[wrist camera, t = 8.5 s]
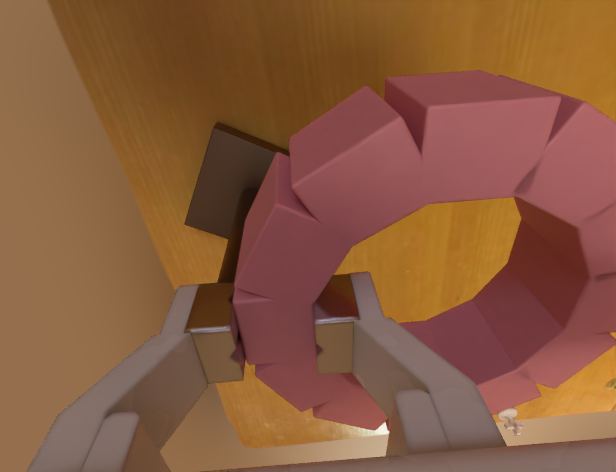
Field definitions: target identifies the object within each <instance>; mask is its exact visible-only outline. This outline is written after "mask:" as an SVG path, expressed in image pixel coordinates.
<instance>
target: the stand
mask: <svg viewBox="0 0 616 472" xmlns="http://www.w3.org/2000/svg"><path fill="white" fill-rule="evenodd" d="M277 152H280V153H282V154H284V155H286V156H289V157H290V152H289V151H286V150H284V149H282V148H279V147H277V146H274V145H272V144H269V143H267V142H265V141H262V140H260V139H257V138H255V137H253V136H250V135H248V134H245V133H243V132H240V131H238V130H236V129H233V128H231V127H228V126H226V125H224V124H221V123H219V122H217V123H216V124H215V126H214V128H213V131H212V134H211V137H210V141H209V144H208V147H207V151H206V154H205V157H204V161H203V164H202V167H201V171H200V174H199V177H198V180H197V184H196V187H195V190H194V194H193V197H192V200H191V204H190V207H189V210H188V214H187V217H186V220H185V225H187V226H190V227H193V228H196V229H199V230H202V231H206V232H209V233H212V234H215V235H218V236H221V237H224V238H227V239H229V240H228V244H227V248H226V251H225V255H224V259H223V263H222V267H221V270H220V274H219V278H218V282H217V283H229V282H235V276H236V270H237V265H238V259H239V253H240V247H241V242H242V236H243V230H244V225H245V219H246V217H247V215H248V213H249V211H250V209H251V206H252V204H253V202H254V200H255V198H256V196H257V193H258V191H259V189H260V187H261V185H262V183H263V180H264V178H265V176H266V174H267V172H268V170H269V167H270V165H271V163H272V161H273V159H274V157H275V154H276V153H277Z"/></svg>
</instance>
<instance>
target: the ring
mask: <svg viewBox="0 0 616 472" xmlns="http://www.w3.org/2000/svg"><path fill="white" fill-rule="evenodd" d="M289 149H290V157H289V156H286V155H284V154H282V153H280V152H277V153H276V154H275V157H274V159H273V161H272V163H271V165H270V167H269V170H268V172H267V174H266V176H265V178H264V180H263V183H262V185H261V187H260V189H259V191H258V193H257V196H256V198H255V200H254V202H253V204H252V206H251V209H250V211H249V213H248V215H247V217H246V219H245V225H244V230H243V236H242V242H241V247H240V253H239V259H238V265H237V270H236V276H235V282H234V287H235V290H234V296H233V301H232V303H233V307H234V310H235V314H236V319H237V323H238V327H239V332H240V336H241V340H242V344H243V348H244V352H245V356H246V361H247V363H248V364H249V365H255V364H256V366H255V375H256V377H257V378H259V379H260V380H261V381H262V382H264V383H265V384H266V385H268V386H269V387H270V388H271V389H273V390H274V391H275V392H276V393H278V394H279V395H280V396H282V397H283V398H284V399H285V400H287V401H288V402H289V403H290V404H292V405H293V406H294V407H296V408H297V409H298V410H299V411H301V412H304V411H306V410H308V409H310V408H313V416H314V417H315V418H320V419H324V420H329V421H333V422H338V423H342V424H347V425H351V426H356V427H360V428H365V429H369V430H376V429H377V428H378V427H380V426H381V425H382V424H383V423H384V422H385V421H386V425H387V429H388V431H390V425H391V421H390V419H389V418H388V417H387V416H386V415H385V413H384V412H383V411H382V410H381V408H380V407H379V406H378V405H377V404H376V402H375V401H374V400H373V399H372V398H371V396H370V395H369V394H368V393H367V391H366V390H365V389H364V388H363V387H362V385H361V384H360V383H359V382H358V380H357V379H356V378H355V377H354V376H353V373H338V374H319V375H318V369H317V358H316V346H315V328H314V313H313V302H315V301H316V300H317V298H318V297H319V295H320V294H321V292H322V291H323V289H324V288H325V286H326V285H327V283H328V282H329V280H330V279H331V277H332V276H333V274H334V273H335V272H336V270H337V269H338V267H339V266H340V264H341V263H342V261H343V260H344V258H345V257H346V255H347V254H348V252H349V251H350V249H351V248H352V246H354V245H356V244H358V243H359V242H361V241H363V240H365V239H367V238H368V237H370V236H372V235H374V234H376V233H377V232H379V231H381V230H383V229H385V228H386V227H388V226H390V225H392V224H394V223H395V222H397V221H399V220H401V219H403V218H404V217H406V216H408V215H410V214H412V213H413V212H415V211H417V210H419V209H420V208H422V207H424V206H426V205H428V204H434V203H446V202H458V201H470V200H483V199H495V198H507V197H514V199H515V202H516V205H517V207H518V210H519V213H520V216H521V218H522V219H521V222H520V225H519V228H518V231H517V234H516V238H515V241H514V244H513V247H512V250H511V253H510V257H509V260H508V263H507V264H506V265H505V266H504V267H503V268H502V269H501V270H500V271H499V272H498V273H497V274H496V275H495V276H494V277H493V278H492V280H491V281H490V282H489V283H488V284H487V285H486V286H485V287H484V288H483V289H482V290H481V291H480V292H479V293H478V294H477V295H476V296H475V297H474V298H473V299H471V300H469V301H467V302H465V303H463V304H460V305H458V306H456V307H454V308H452V309H450V310H448V311H445V312H443V313H441V314H439V315H437V316H435V317H432V318H430V319H428V320H426V321H417V322H405V323H398V324H400V325H401V326H402V327H404V328H405V329H406V330H408V331H409V332H410V333H411V334H413V335H414V336H415V337H417V338H418V339H419V340H420V341H422V342H423V343H424V344H426V345H427V346H428V347H430V348H431V349H432V350H433V351H435V352H436V353H437V354H439V355H440V356H441V357H442V358H444V359H445V360H446V361H448V362H449V363H450V364H452V365H453V366H454V367H455V368H457V369H458V370H459V371H461V372H462V373H463V374H465V375H466V376H467V377H468V378H470V379H471V380H472V381H474V382H475V383H476V385H477V387H478V389H479V391H480V393H481V395H482V397H483V399H484V401H485V403H486V405H487V407H488V409H489V411H490V413H491V415H493V414H496V413H498V412H501V411H504V410H506V409H509V408H512V407H515V406H517V405H520V404H523V403H525V402H528V401H531V400H533V399H536V398H539V397H541V394H540V392H539V390H538V388H537V386H536V384H535V383H538V384H541V385H544V386H547V387H551V388H557V387H558V386H560V385H561V384H562V383H564V382H565V381H566V380H568V379H569V378H571V377H572V376H573V375H575V374H576V373H577V372H579V371H580V370H582V369H583V368H584V367H586V366H587V365H588V364H590V363H591V362H593V361H594V360H595V359H597V358H598V357H599V356H601V355H602V354H604V353H605V352H606V351H608V350H609V349H610V348H612V347H613V346H615V345H616V339H615V338H614V337H613V336H612V335H611V334H610V332H616V122H615V121H614V120H612V119H611V118H609V117H608V116H606V115H605V114H603V113H602V112H601V111H599V110H598V109H596V108H595V107H593V106H592V105H590V104H589V103H587V102H586V101H582V100H579V99H576V98H573V97H570V96H566V95H563V94H560V93H557V92H554V91H550V90H547V89H544V88H541V87H538V86H535V85H531V84H528V83H525V82H522V81H519V80H515V79H512V78H509V77H506V76H503V75H498V76H497V75H494V74H490V73H487V72H484V71H481V70H475V71H462V72H449V73H436V74H423V75H410V76H397V77H388V78H386V80H385V96H384V100H383V99H382V98H381V97H380V96H379V95H378V94H377V93H375V92H374V91H373V90H372V89H371V88H370V87H369V86H368V85H367V86H364V87H363V88H361V89H360V90H358V91H357V92H355V93H354V94H352V95H351V96H349V97H348V98H347V99H345V100H344V101H342V102H341V103H339V104H338V105H336V106H335V107H333V108H332V109H331V110H329V111H328V112H326V113H325V114H323V115H322V116H320V117H319V118H317V119H316V120H314V121H313V122H312V123H310V124H309V125H307V126H306V127H304V128H303V129H301V130H300V131H298V132H297V133H296V134H294V135H293V136H291V137H290V138H289Z"/></svg>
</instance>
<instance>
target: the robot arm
mask: <svg viewBox="0 0 616 472" xmlns="http://www.w3.org/2000/svg"><path fill="white" fill-rule="evenodd" d="M234 290H235V287H234V282H229V283H209V284H196V285H181V286H180V287H179V288H178V289H177V290H176V293H175V296H174V298H173V301H172V303H171V306H170V309H169V311H168V314H167V316H166V319H165V322H164V325H163V327H162V329H161V332H160V334H159V335H154V336H152V337H151V338H150V339H148V340H147V341H146V342H145V343H144V344H142V345H141V346H140V347H139V348H138V349H136V350H135V351H134V352H133V353H132V354H130V355H129V356H128V357H127V358H126V359H125V360H123V361H122V362H121V363H120V364H118V365H117V366H116V367H115V368H114V369H112V370H111V371H110V372H109V373H108V374H106V375H105V376H104V377H103V378H102V379H100V380H99V381H98V382H97V383H96V384H94V385H93V386H92V387H91V388H90V389H88V390H87V391H86V392H85V393H84V394H83V395H81V396H80V397H79V398H78V399H76V400H75V401H74V402H73V403H72V404H70V405H69V406H68V407H67V408H66V409H64V410H63V411H62V412H61V413H60V414H59V415H58V416H57V418H56V420H55V421H54V423H53V425H52V427H51V428H50V430H49V432H48V434H47V435H46V437H45V439H44V441H43V442H42V445H41V446H40V448H39V450H38V452H37V454H36V455H35V457H34V459H33V461H32V462H31V464H30V466H29V468H28V470H27V471H26V472H171V471H170V469H169V468H168V466H167V464H166V462H165V460H164V459H163V457H162V455H161V453H160V450H161V449H162V447H163V446H164V445H165V443H166V442H167V441H168V439H169V438H170V437H171V435H172V434H173V433H174V431H175V430H176V429H177V427H178V426H179V425H180V423H181V422H182V421H183V419H184V418H185V417H186V415H187V414H188V413H189V411H190V410H191V409H192V407H193V406H194V404H195V403H196V402H197V401H198V399H199V398H200V397H201V395H202V394H203V393H204V391H205V390H206V389H207V387H208V384H213V383H223V382H232V381H242V380H243V377H244V369H245V360H246V356H245V352H244V348H243V344H242V340H241V336H240V332H239V327H238V323H237V319H236V314H235V310H234V307H233V303H232V301H233V296H234ZM313 313H314V328H315V346H316V358H317V369H318V375H319V374H338V373H353V376H354V377H355V378H356V379H357V380H358V382H359V383H360V384H361V385H362V387H363V388H364V389H365V390H366V391H367V393H368V394H369V395H370V396H371V398H372V399H373V400H374V401H375V402H376V404H377V405H378V406H379V407H380V408H381V410H382V411H383V412H384V413H385V415H386V416H387V417H388V418H389V419H390V421H391V425H390V432H389V438H388V446H387V452H386V456H385V457H373V458H360V459H348V460H336V461H324V462H311V463H300V464H288V465H275V466H263V467H251V468H238V469H227V470H214V471H202V472H616V438H604V439H592V440H580V441H568V442H556V443H544V444H532V445H519V446H507V445H506V443H505V441H504V439H503V437H502V435H501V433H500V431H499V429H498V427H497V425H496V423H495V421H494V419H493V417H492V415H491V413H490V411H489V409H488V407H487V405H486V403H485V401H484V399H483V397H482V395H481V393H480V391H479V389H478V387H477V385H476V383H475V382H474V381H472V380H471V379H470V378H468V377H467V376H466V375H465V374H463V373H462V372H461V371H459V370H458V369H457V368H455V367H454V366H453V365H452V364H450V363H449V362H448V361H446V360H445V359H444V358H442V357H441V356H440V355H439V354H437V353H436V352H435V351H433V350H432V349H431V348H430V347H428V346H427V345H426V344H424V343H423V342H422V341H420V340H419V339H418V338H417V337H415V336H414V335H413V334H411V333H410V332H409V331H408V330H406V329H405V328H404V327H402V326H401V325H400V324H398V323H397V322H396V321H395V320H393V319H392V318H385V317H384V314H383V311H382V308H381V305H380V302H379V299H378V296H377V292H376V289H375V286H374V283H373V280H372V277H371V274H370V273H369V272H368V271H367V272H357V273H349V274H339V275H333V276H332V277H331V279H330V280H329V282H328V283H327V285H326V286H325V288H324V289H323V291H322V292H321V294H320V295H319V297H318V298H317V300H316V301H315V302H313Z"/></svg>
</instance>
